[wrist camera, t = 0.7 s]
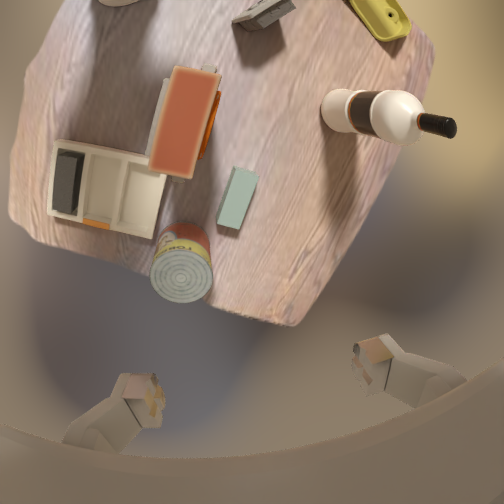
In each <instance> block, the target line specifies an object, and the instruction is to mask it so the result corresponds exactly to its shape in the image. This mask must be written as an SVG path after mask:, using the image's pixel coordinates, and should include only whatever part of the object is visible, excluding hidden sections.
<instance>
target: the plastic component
mask: <svg viewBox="0 0 504 504" xmlns="http://www.w3.org/2000/svg"><path fill="white" fill-rule="evenodd" d="M349 1H350V3H351V5H352V7H353V8H354V10H355V11H356V13H357V14H358V15H359V17H360V18H361V19H362V21H363V22H364V23H365V25H366V26H367V28H368V29H369V30H370V32H371V33H372V35H373V36H374V37H375V38H376V39H378V40H380V41H384V42H388V41H391V40H394V39H398V38H401V37H404V36H407V35H408V33H409V32H410V30H411V28H412V26H411V23H410V20H409V19H408V17H407V15H406V14H405V12H404V11H403V9H402V8H401V6H400V5H399V3H398V2H397V1H396V0H349ZM389 13H390V14H391V15H392V17H389V16H388V14H389Z"/></svg>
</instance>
